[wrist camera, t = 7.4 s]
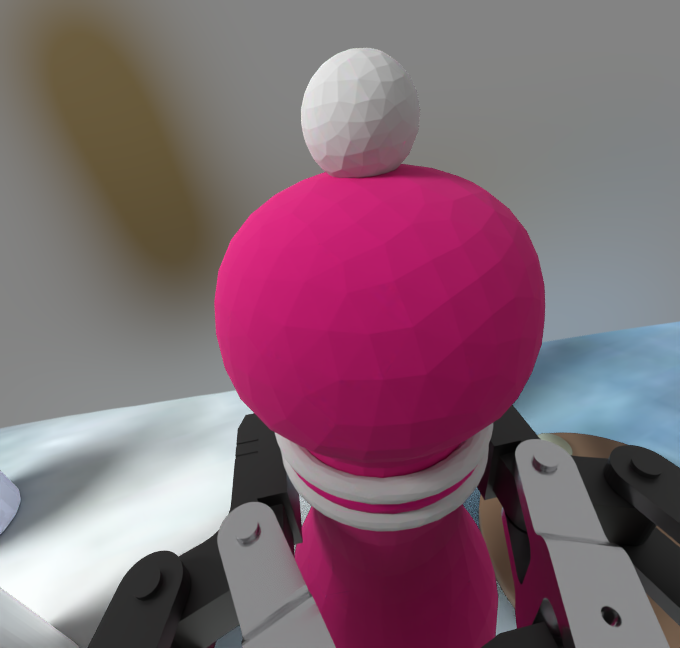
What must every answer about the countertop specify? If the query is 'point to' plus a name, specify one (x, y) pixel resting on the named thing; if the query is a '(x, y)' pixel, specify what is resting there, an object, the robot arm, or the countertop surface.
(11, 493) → the soap bottle
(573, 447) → the round wooden disc
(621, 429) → the countertop surface
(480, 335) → the pepper mill
